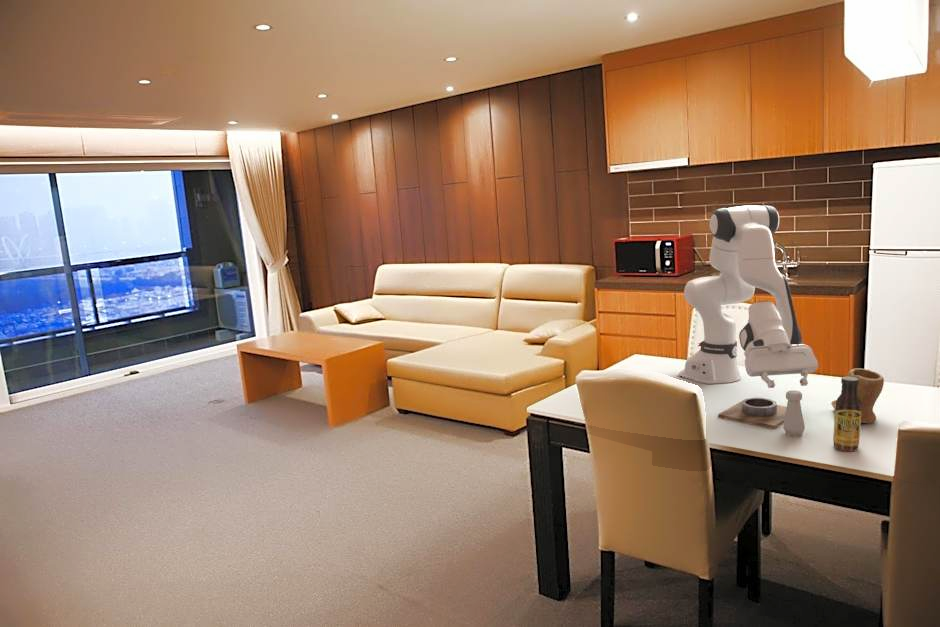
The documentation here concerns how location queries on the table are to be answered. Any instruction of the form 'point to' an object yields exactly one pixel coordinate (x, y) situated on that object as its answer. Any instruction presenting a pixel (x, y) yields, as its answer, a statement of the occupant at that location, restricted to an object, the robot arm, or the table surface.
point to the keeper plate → (769, 422)
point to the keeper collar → (759, 407)
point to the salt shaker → (793, 414)
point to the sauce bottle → (847, 416)
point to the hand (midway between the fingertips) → (788, 385)
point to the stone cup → (866, 391)
